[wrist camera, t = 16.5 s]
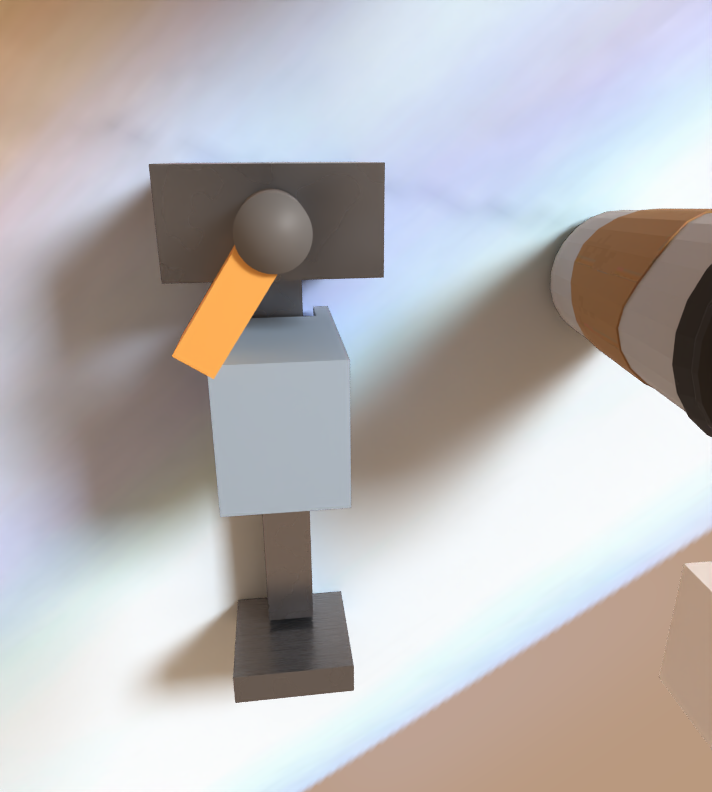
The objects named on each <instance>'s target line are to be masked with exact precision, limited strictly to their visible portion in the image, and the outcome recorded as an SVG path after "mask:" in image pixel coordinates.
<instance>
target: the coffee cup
mask: <svg viewBox="0 0 712 792" xmlns="http://www.w3.org/2000/svg"><path fill="white" fill-rule="evenodd" d="M550 290H551V294H552V299H553V303H554V306H555V307H556V309H557V311H558V313H559V315H560V316H561V318H562V319H563V320H564V321H565V322H566V323H567V324H568V325H569V326H571V327H572V328H573V329H574V330H576V331H577V332H578V333H580V334H581V335H582V336H584V337H585V338H587V339H588V340H589V341H590V342H591V343H592V344H593V345H594V346H595V347H596V348H597V349H599V350H600V351H601V352H603V353H604V354H605V355H607V356H608V357H609V358H611V359H612V360H613V361H615V362H616V363H617V364H619V365H620V366H621V367H623V368H624V369H625V370H627V371H628V372H629V373H631V374H632V375H633V376H635V377H636V378H637V379H639V380H640V381H641V382H643V383H644V384H646V385H648V386H650V387H652V388H654V389H656V390H657V391H658V392H660V393H661V394H662V395H664V396H665V397H666V398H668V399H669V400H670V401H672V402H673V403H674V404H676V405H677V406H679V407H680V408H681V409H683V410H684V411H685V412H686V413H687V415H688V417H689V418H690V419H691V420H692V421H693V422H694V423H695V424H696V425H697V426H698V427H699V428H700V429H701V430H702V431H704V432H705V433H706V434H707V435H708V436H710V437H712V209H650V210H619V211H608V212H604V213H602V214H599V215H596V216H594V217H591V218H589V219H588V220H587V221H585V222H584V223H582V224H581V225H579V226H578V227H577V228H576V229H575V230H574V231H573V232H572V233H571V234H570V235H569V236H568V238H567V239H566V240H565V241H564V242H563V244H562V246H561V248H560V249H559V251H558V253H557V255H556V257H555V260H554V264H553V267H552V271H551V285H550Z"/></svg>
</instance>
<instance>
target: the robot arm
mask: <svg viewBox="0 0 712 792" xmlns="http://www.w3.org/2000/svg"><path fill="white" fill-rule="evenodd" d="M659 678H660V680H661V681H662V682H663V684H664V685H665V687H666V688H667V689H668V691H669V692H670V693H671V695H672V696H673V697H674V699H675V700H676V701H677V703H678V704H679V706H680V707H681V708H682V710H683V711H684V712H685V714H686V715H687V717H688V718H689V719H690V721H691V722H692V723H693V725H694V726H695V727H696V729H697V730H698V732H699V733H700V734H701V736H702V737H703V738H704V740H705V741H706V742H707V744H708V745H709V747H710V748H711V749H712V561H711V562H698V563H687V564H684V566H683V570H682V575H681V579H680V584H679V589H678V593H677V597H676V602H675V606H674V611H673V615H672V620H671V625H670V629H669V634H668V638H667V643H666V647H665V653H664V656H663V661H662V666H661V670H660V675H659Z"/></svg>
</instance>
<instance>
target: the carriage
mask: <svg viewBox="0 0 712 792" xmlns="http://www.w3.org/2000/svg"><path fill="white" fill-rule="evenodd" d="M313 313H314V316H300V317H271V318H251V319H250V321H249V322H248V324H247V325H246V327H245V329H244V330H243V332H242V334H241V335H240V337H239V339H238V340H237V342H236V344H235V345H234V347H233V348H232V350H231V352H230V353H229V355H228V357H227V358H226V360H225V362H224V363H223V365H222V367H221V368H220V370H219V371H218V373H217V375H216V376H215V378H214V379H212V378H210V377H209V376H208V387H209V398H210V409H211V420H212V431H213V442H214V453H215V465H216V476H217V487H218V498H219V509H220V517H228V516H242V515H256V514H270V513H285V512H299V511H313V510H327V509H341V508H351V435H350V359H349V357H348V354H347V352H346V349H345V347H344V344H343V342H342V340H341V337H340V335H339V332H338V330H337V327H336V325H335V323H334V320H333V318H332V315H331V313H330V311H329V308H328V306H316V307H313Z"/></svg>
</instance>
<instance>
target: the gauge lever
mask: <svg viewBox="0 0 712 792" xmlns="http://www.w3.org/2000/svg"><path fill="white" fill-rule="evenodd" d="M312 239H313V230H312V225H311V221H310V219H309V216H308V215H307V213H306V211H305V210H304V208H303V207H302V206H301V204H300V203H299V202H298V201H297V200H296V199H295V198H294V197H293V196H292V195H291V194H289V193H287V192H285V191H283V190H279V189H274V188H268V189H262V190H259V191H257V192H255V193H253V194H252V195H250V196H249V197H248V198H247V199H246V200H245V201H244V203H243V204H242V206H241V208H240V209H239V211H238V213H237V215H236V217H235V220H234V224H233V240H234V244H235V245H234V247H233V248H232V250H231V252H230V253H229V255H228V257H227V259H226V260H225V262H224V264H223V265H222V267H221V269H220V271H219V272H218V274H217V276H216V277H215V279H214V281H213V283H212V284H211V286H210V288H209V289H208V291H207V293H206V295H205V296H204V298H203V300H202V301H201V303H200V305H199V307H198V308H197V310H196V312H195V313H194V315H193V317H192V319H191V320H190V322H189V324H188V325H187V327H186V329H185V331H184V332H183V334H182V336H181V338H180V340H179V342H178V345H177V347H176V349H175V351H174V353H173V355H172V357H174V358H175V359H177V360H179V361H181V362H183V363H185V364H187V365H188V366H190V367H192V368H194V369H196V370H198V371H199V372H201V373H203V374H205V375H207V376H209V377H210V378H212V379H214V378H215V376H216V375H217V373H218V371H219V370H220V368H221V367H222V365H223V363H224V362H225V360H226V358H227V357H228V355H229V353H230V352H231V350H232V348H233V347H234V345H235V344H236V342H237V340H238V339H239V337H240V335H241V334H242V332H243V330H244V329H245V327H246V325H247V324H248V322H249V321H250V319H251V317H252V316H253V314H254V312H255V311H256V309H257V307H258V306H259V304H260V302H261V301H262V299H263V297H264V296H265V294H266V293H267V291H268V289H269V288H270V286H271V284H272V283H273V281H274V279H275V278H276V276H277V274H282V273H286V272H289V271H291V270H293V269H294V268H296V267H297V266H299V265H300V264H301V263H302V262H303V261H304V259H305V258H306V257H307V255H308V253H309V251H310V248H311V245H312Z"/></svg>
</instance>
